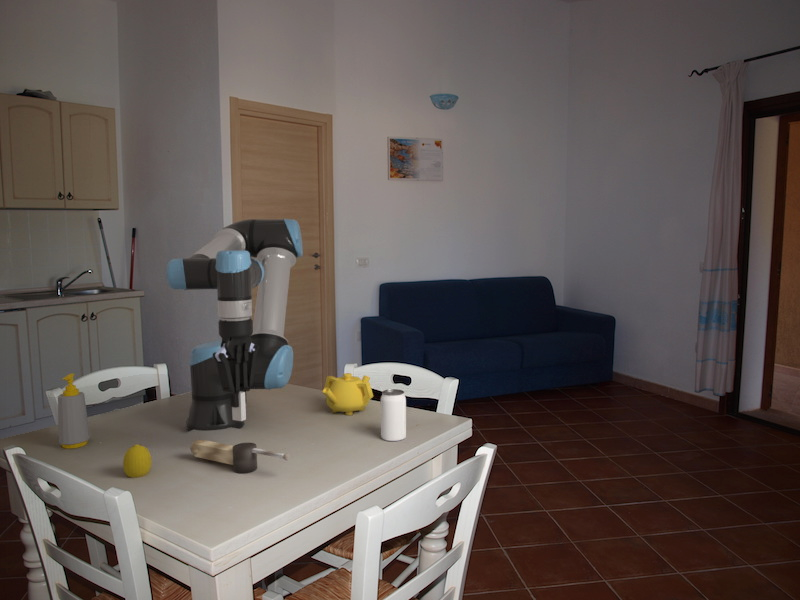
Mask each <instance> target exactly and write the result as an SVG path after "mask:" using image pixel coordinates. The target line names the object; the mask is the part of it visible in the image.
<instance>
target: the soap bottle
mask: <svg viewBox="0 0 800 600" xmlns="http://www.w3.org/2000/svg"><path fill="white" fill-rule="evenodd" d="M74 376H75V373H69V374H68V375H65V377H63V378H62V380H63V381H66V382H67V385H66V386H65V388H64V390H63V391H62V393H61V394H59V395H58V396H57V412H58V413H57V417H58V418H57V419H58V421H57V422H58V424H57V425H58V443H59V444H60V445H61V447H62V449H66V450H67V449H69V450H70V449H71V450H72V449H78V448H81V447H84V446H86V445H88V441H89V440H90V438H91V436H90V427H89V420H88V413H87V412H88V411H87V405H86V396H85V392H83V391H80V389H79V388H77V386H76V384H73V382H74Z"/></svg>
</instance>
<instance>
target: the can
mask: <svg viewBox="0 0 800 600" xmlns="http://www.w3.org/2000/svg"><path fill="white" fill-rule="evenodd" d="M381 393H382V395H381V396H380V438H382V440H383V441H386V442H391V443H392V442H393V443H394V442H401V441H404V440H405V439H406V438H407V398H406V395H405V391H404V390H402V389H398V388H397V389H395V388H390V389H385V390H383V391H382V392H381Z"/></svg>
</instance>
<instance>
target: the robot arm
mask: <svg viewBox="0 0 800 600" xmlns="http://www.w3.org/2000/svg"><path fill="white" fill-rule="evenodd" d="M303 248H304V247H303V239H302V232H301V227H300V225H299V222H298V220H296V219H292V218H291V219H290V218H282V219H277V218H275V219H274V218H273V219H271V218H269V219H265V218H264V219H262V218H261V219H259V218H258V219H257V218H256V219H253V218H250V219H249V218H248V219H244V220H239V221H237V222H233V223H231V224H229V225H227V226H225V227H223V228H221V229H220V230H218V231H217V232H216V233H215V234H214V236H213V238H212V240H211V241H210V242H208V243H207V244H205V245H204V246H202V247H201V248H200V249H198V250H197V251H196V252H194V253H193V254H191V256H189V257H188V258H182V257H180V258H173V259H171V260H169V261H168V263H167V266H166V275H165V276H166V281H167V284H168V285H169V287H170V289H172V290H184V291H190V290H216V291H217V292H216V293H217V294H216V295H217V318H219V321H218V322H217V323H218V336H219V337H221V339H220V340H215V341H211V342H205V343H202V344H198V345H196V346H194V347H193V348H192V349H191V350H190V352H189V353H190V354H189V357H190V358H189V369H190V385H191V404H190V407H189V411H188V412H189V413H188V417H187V419H186V422H185V423H186V425H185V427H186V431H187V432H188V433H189V432H191V431H193V430H195V431H201V432H202V431H206V432H207V431H209V432H211V431H218V430H219V431H221V430H225V429H230V428H231V429H232V428H233V429H241V428H242V427H244V425H245V421H246V420H247V414H246V413H247V411H246V409H247V408H246V407H247V406H246V404H247V392H250V391H251V390H268V391H269V390H274V389H275V390H276V389H283V388H284V387H286V386H287V384H288V383H289V381H290V378H291V376H292V371H293V366H294V351H293V350H294V349H293V347H292V346H291V345H289V340H288V339H287V338H286V337H285V336H284V335H285V325H286V313H287V305H288V295H289V286H290V274H291V268H292V267H294V266H295V265H296V264H297V258H298V259H299V258H302V257H303V254H304V249H303ZM257 286H258V287H257ZM256 287H257V295H256V301H255V309H254V316H253V303H252V302H253V300H252V299H253V297H252V289H254V288H256ZM252 316H253V319H252Z"/></svg>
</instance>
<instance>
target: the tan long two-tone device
mask: <svg viewBox="0 0 800 600" xmlns="http://www.w3.org/2000/svg"><path fill="white" fill-rule="evenodd" d="M190 452H191V454H193V455H194V457H196V458H200V459H205V460H210V461H214V462H218V463H221V464H227V465H232V466H233V469H232V470H233V472H234V473H236V474H249V473H253V472H255V471H257V469H258V455H263V456H267V457H272V458H278V459H282V460H285V461H289V460H290V458H291V455H290V453H282V452H278V451H273V450H272V451H271V450H269V449H262V448H257V444H256V443H254V442H241V443H237V444H234V445H233V444H232V445H231V444H227V443H226V444H225V443H221V442H215V441H212V440H206V439H196V440H194V441H193V442H192V443H191V445H190Z"/></svg>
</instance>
